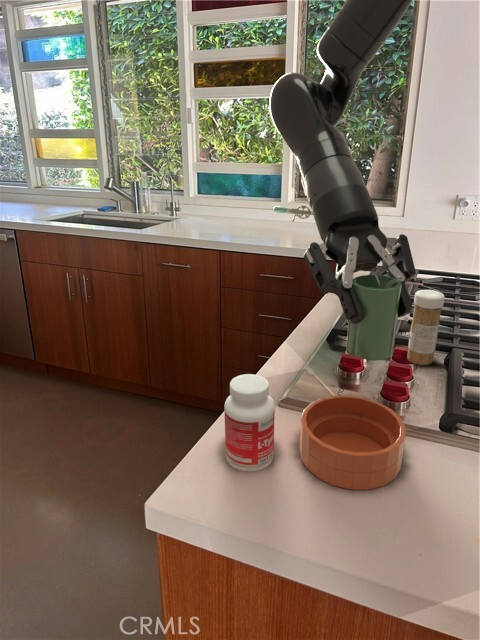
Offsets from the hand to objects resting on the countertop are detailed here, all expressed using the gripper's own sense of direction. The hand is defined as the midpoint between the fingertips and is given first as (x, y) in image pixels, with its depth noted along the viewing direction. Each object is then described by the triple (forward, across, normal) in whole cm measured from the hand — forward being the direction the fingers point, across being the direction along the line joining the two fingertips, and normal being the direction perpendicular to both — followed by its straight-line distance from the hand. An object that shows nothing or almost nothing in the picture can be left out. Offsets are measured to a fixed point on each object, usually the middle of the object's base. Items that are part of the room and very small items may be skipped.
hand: (381, 317), depth 55 cm
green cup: (+2, 0, +5) cm, 5 cm away
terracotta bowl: (+14, -4, +11) cm, 19 cm away
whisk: (-94, +59, +115) cm, 160 cm away
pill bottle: (+12, -16, +14) cm, 24 cm away
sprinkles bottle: (+2, +20, +24) cm, 31 cm away
